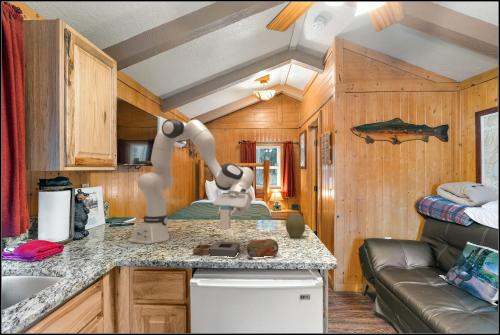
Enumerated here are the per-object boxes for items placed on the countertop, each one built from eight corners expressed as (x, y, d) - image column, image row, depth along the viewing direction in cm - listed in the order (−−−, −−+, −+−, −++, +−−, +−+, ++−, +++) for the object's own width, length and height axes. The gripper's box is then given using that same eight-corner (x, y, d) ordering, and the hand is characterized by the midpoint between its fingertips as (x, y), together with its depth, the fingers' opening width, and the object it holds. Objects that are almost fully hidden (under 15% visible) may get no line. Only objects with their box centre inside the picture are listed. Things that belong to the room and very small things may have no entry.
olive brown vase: (287, 239, 146) (287, 213, 146) (284, 235, 157) (284, 210, 157) (307, 239, 146) (307, 213, 147) (302, 234, 158) (302, 210, 158)
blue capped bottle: (220, 228, 120) (220, 205, 120) (222, 226, 124) (222, 204, 124) (228, 228, 119) (228, 205, 119) (230, 227, 123) (230, 204, 123)
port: (209, 257, 116) (209, 248, 116) (216, 249, 128) (216, 241, 128) (235, 259, 115) (235, 250, 115) (240, 250, 126) (240, 242, 126)
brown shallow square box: (193, 255, 120) (193, 248, 120) (198, 250, 127) (198, 244, 127) (208, 255, 119) (208, 249, 119) (213, 250, 126) (213, 244, 126)
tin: (247, 260, 113) (247, 241, 113) (245, 258, 116) (245, 239, 116) (278, 257, 117) (278, 238, 117) (276, 254, 120) (276, 237, 120)
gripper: (218, 188, 133) (205, 209, 125) (250, 190, 122) (239, 213, 114) (223, 196, 137) (211, 217, 129) (255, 198, 126) (244, 221, 117)
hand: (224, 215), depth 121 cm, fingers closed on blue capped bottle, 5 cm apart
